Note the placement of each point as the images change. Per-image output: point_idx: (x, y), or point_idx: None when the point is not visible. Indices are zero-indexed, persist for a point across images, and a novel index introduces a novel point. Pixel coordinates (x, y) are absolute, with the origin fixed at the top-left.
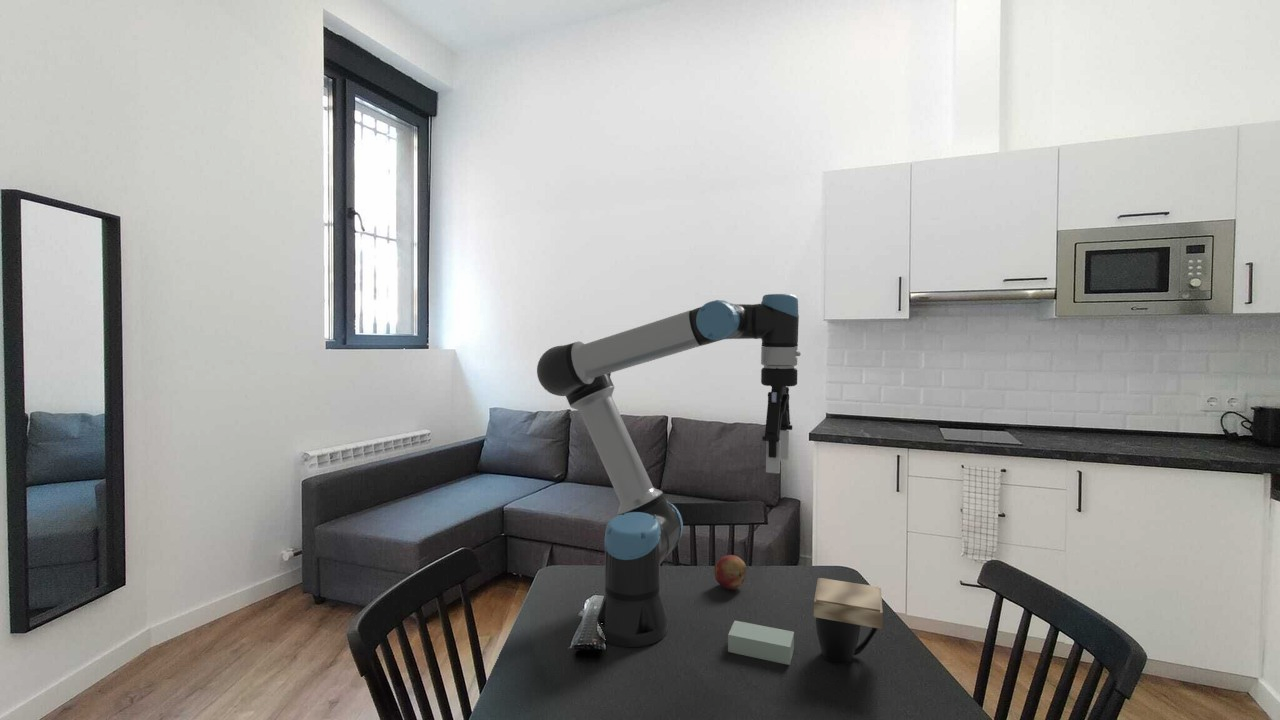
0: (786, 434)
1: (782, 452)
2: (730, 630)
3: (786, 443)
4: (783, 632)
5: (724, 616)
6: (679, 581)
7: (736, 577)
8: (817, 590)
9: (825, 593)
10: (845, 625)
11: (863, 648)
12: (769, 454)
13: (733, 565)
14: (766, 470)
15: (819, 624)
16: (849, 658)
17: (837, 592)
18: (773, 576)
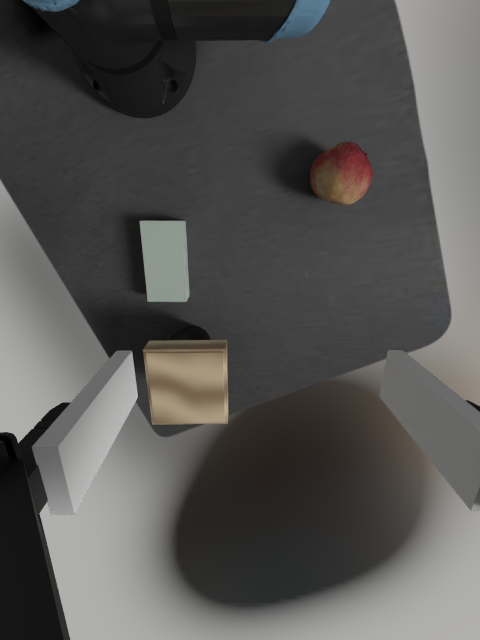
0: (456, 480)
1: (398, 392)
2: (151, 221)
3: (421, 439)
4: (178, 289)
5: (235, 193)
6: (333, 75)
7: (316, 193)
8: (181, 351)
9: (171, 363)
10: None
11: None
12: (48, 416)
13: (327, 184)
14: (115, 356)
15: (171, 339)
16: None
17: (181, 377)
18: (394, 241)
